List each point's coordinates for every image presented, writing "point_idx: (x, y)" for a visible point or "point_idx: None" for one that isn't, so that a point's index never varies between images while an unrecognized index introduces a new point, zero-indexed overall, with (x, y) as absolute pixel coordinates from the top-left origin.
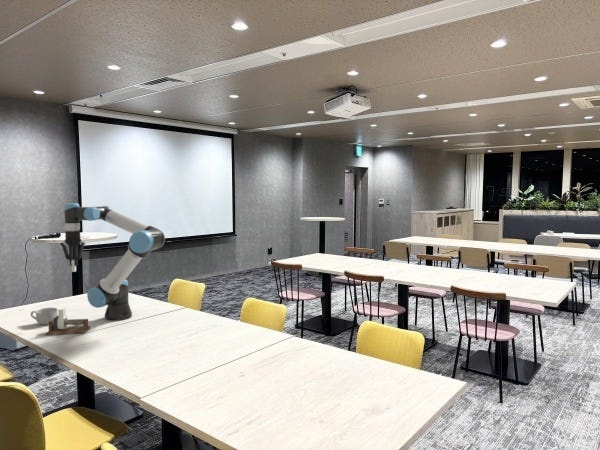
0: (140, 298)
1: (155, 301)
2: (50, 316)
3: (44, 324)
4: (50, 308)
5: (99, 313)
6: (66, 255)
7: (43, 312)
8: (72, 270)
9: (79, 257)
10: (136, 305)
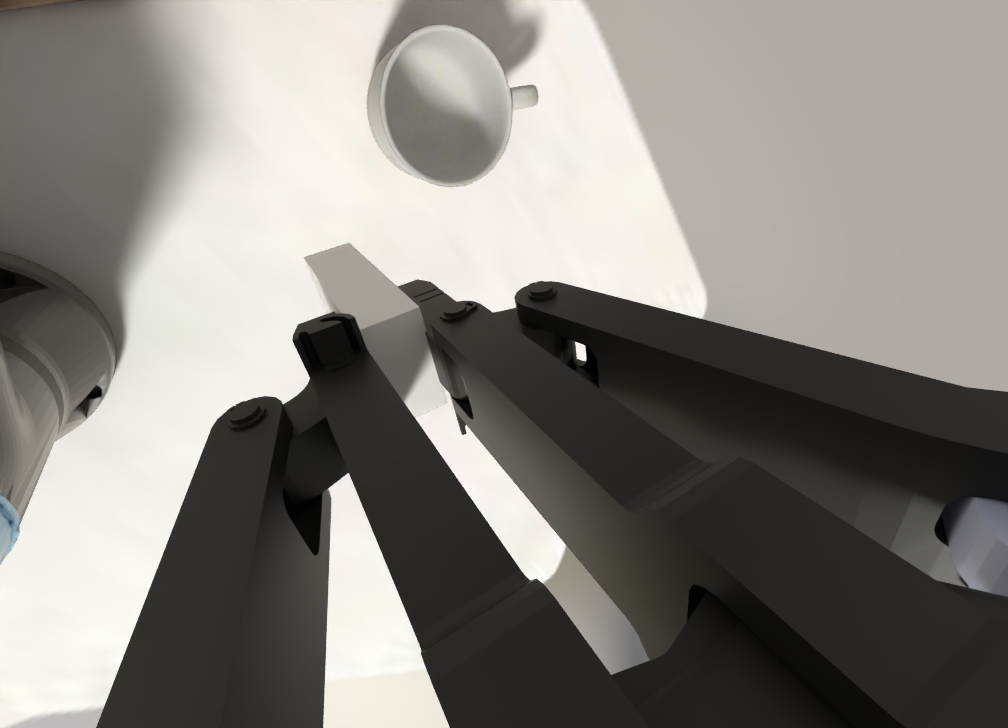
0: None
1: (80, 700)
2: (383, 63)
3: (406, 61)
4: (464, 178)
5: (247, 383)
6: (597, 315)
7: (486, 150)
8: (342, 252)
9: (214, 439)
10: (138, 593)
